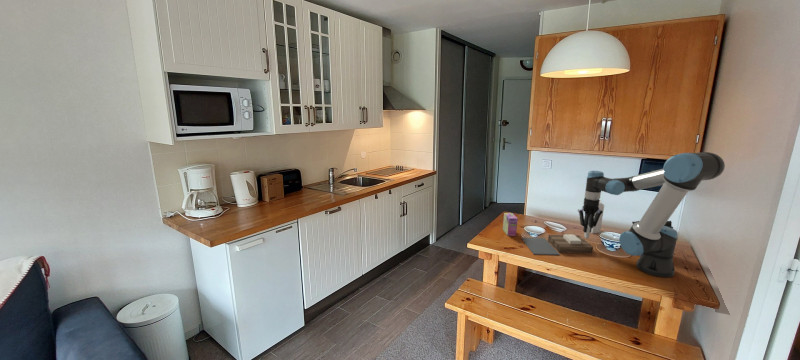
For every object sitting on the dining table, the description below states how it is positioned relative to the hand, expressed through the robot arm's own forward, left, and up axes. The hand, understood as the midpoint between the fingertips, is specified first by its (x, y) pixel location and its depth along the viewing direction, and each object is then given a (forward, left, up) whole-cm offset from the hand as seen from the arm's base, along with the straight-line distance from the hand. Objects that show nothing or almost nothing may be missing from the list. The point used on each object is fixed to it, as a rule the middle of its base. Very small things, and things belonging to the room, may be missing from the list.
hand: (586, 237), depth 188 cm
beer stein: (-4, -32, -6) cm, 33 cm away
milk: (+25, -17, -6) cm, 31 cm away
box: (+20, +38, -6) cm, 43 cm away
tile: (0, +8, -2) cm, 8 cm away
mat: (0, +26, -6) cm, 27 cm away
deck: (0, +9, -6) cm, 11 cm away
